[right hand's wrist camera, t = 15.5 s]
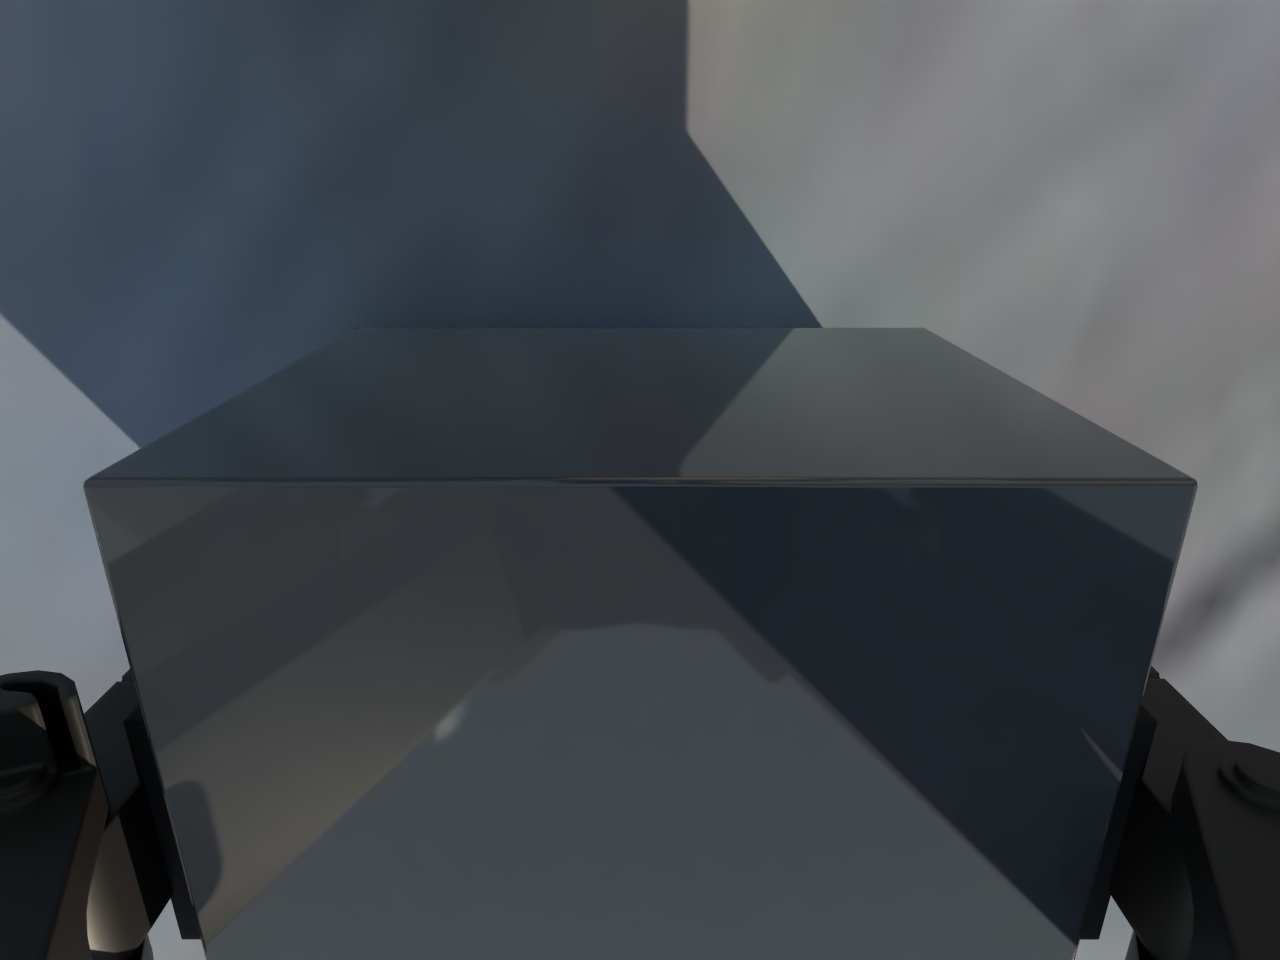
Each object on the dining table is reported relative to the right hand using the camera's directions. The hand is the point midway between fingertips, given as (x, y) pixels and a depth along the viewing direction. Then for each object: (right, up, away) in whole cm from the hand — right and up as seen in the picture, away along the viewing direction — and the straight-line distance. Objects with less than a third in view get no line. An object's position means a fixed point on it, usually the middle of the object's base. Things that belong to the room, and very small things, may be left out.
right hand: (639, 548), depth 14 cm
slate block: (0, 0, -1) cm, 1 cm away
